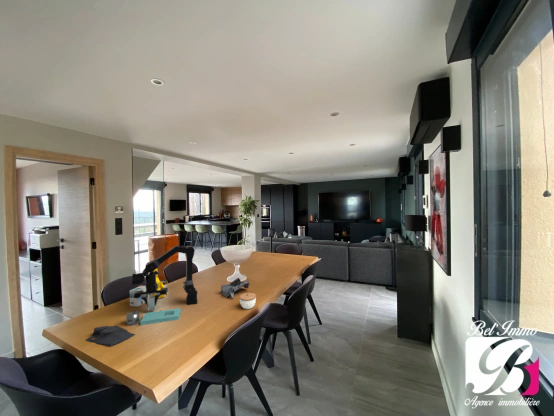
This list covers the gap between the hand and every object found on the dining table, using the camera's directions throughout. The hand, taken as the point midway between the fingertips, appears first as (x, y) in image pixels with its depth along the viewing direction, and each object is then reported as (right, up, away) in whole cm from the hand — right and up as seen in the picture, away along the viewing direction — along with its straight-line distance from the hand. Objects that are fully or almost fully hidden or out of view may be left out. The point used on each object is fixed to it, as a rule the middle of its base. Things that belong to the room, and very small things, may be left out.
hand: (151, 305), depth 146 cm
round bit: (-3, -4, -14) cm, 15 cm away
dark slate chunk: (-6, -5, -28) cm, 29 cm away
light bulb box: (-16, -4, +14) cm, 22 cm away
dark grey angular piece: (+49, -3, +28) cm, 57 cm away
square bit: (0, -2, 0) cm, 2 cm away
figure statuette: (-8, -4, +23) cm, 25 cm away
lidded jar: (+62, -2, +2) cm, 62 cm away
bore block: (+11, -4, -9) cm, 15 cm away
